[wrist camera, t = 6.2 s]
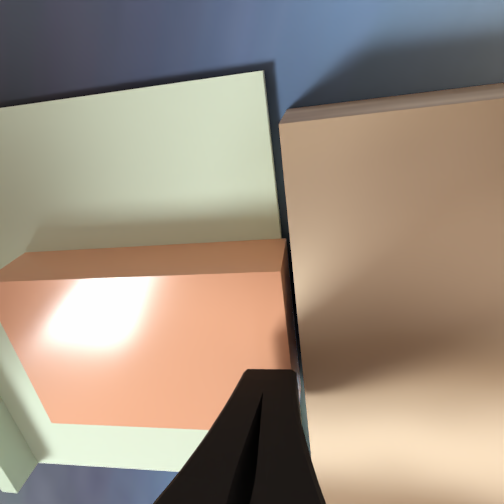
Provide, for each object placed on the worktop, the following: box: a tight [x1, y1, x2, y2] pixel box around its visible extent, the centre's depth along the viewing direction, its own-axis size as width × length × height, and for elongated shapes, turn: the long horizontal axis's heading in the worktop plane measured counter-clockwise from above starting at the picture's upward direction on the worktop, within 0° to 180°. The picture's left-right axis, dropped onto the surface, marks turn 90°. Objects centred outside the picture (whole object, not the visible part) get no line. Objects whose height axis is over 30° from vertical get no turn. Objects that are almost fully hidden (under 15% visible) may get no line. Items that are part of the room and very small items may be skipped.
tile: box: [0, 238, 301, 430], centre depth 13 cm, size 6×9×2 cm, turn 97°
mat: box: [0, 70, 302, 493], centre depth 14 cm, size 16×14×2 cm
